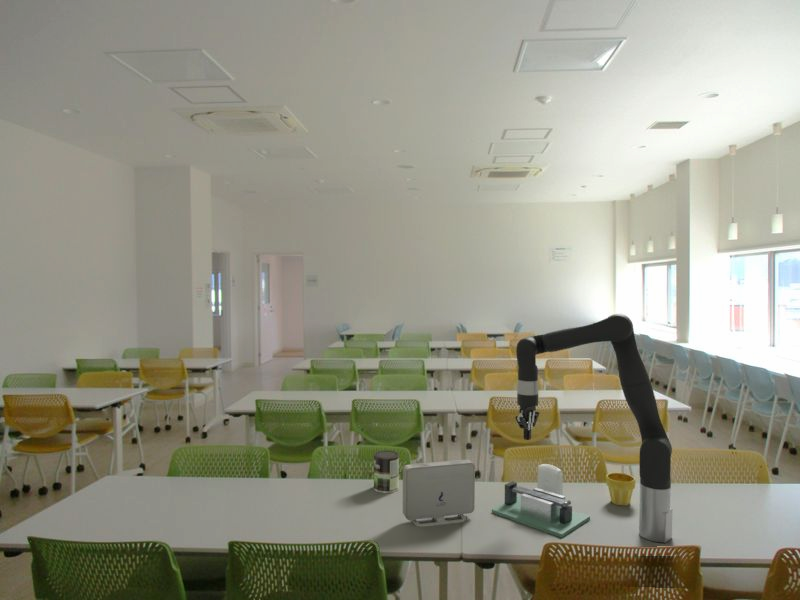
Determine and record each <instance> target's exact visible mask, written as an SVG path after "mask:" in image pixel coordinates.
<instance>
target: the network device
mask: <svg viewBox="0 0 800 600" xmlns="http://www.w3.org/2000/svg"><path fill="white" fill-rule="evenodd" d="M475 471H476V465H475V464H474V462H472V461H471V460H469V459H457V460H447V461H444V460H443V461H436V462H425V463H423V462H422V463H412V464H405V465H404V466H403V467H402V514H403V516H404V518H406V520H408V521H412V523H413V524H414V525H415V526H417V527H420V528H424V527H434V526H435V527H436V526H441V525H442V526H443V525H448V524H449V525H450V524H459V523H463V522H465V521H466V520H467V519H466V516H465V515H467V514H472V513H474V511H475V506H476V505H475V501H476V500H475V499H476V497H475V494H476V493H475V492H476V491H475V490H476V489H475V487H476V486H475V485H476V484H475V483H476V481H475V479H476V477H475V476H476V472H475ZM456 515H457V516H459V517H460V518H461V519H453V520H452V519H451V520H447V519H445V517H448V516H456ZM432 518H433V519H434V521H435V522H428V523H419V522H418V520H422V519H423V520H425V519H432Z"/></svg>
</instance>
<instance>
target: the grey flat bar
mask: <svg viewBox="0 0 800 600" xmlns="http://www.w3.org/2000/svg"><path fill="white" fill-rule="evenodd" d="M512 491H513V492H516V493H517V494H520V495H522V494H527V495H530V496H533V497H536V498H539V499H543V500H546V501H549V502H552V503H554V505H557V506H561V507H562V508H565V507H567V506H568V505H569V506H571V504H572V501H571V500H567V499H565V500H563V499H560V498H557V497H553V496H550V495H547V494H543V493H540V492H537V491H533V489H530V488H527V487H523V486H520V485H517V487H515V488H513V489H512Z"/></svg>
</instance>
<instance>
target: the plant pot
mask: <svg viewBox="0 0 800 600" xmlns="http://www.w3.org/2000/svg"><path fill="white" fill-rule="evenodd" d="M605 483H606V485H607V487H608V490H609V497H610V501H611V503H612V504H614V505H618V506H628V505H630V504H631V500H632V499H631V498H632V496H633V492H634V491H633V490H634V489H635V488H636V478H635V477H634V476H633V475H631V474H628V473H623V472H622V473H621V472H610V473H607V474H606V475H605Z"/></svg>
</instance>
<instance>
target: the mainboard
mask: <svg viewBox="0 0 800 600" xmlns="http://www.w3.org/2000/svg"><path fill="white" fill-rule="evenodd" d="M521 495H522V494H520V495H517V502H515V503H513V504H511V505H506V504H505V502H504V503H501V504H500V505H498V506H495V507H494V508H492V509H491V514H494V515H497V516H500V517H503V518H506V519H508V520H511V521H513V522H517V523H519V524H522V525H525V526H528V527H530V528H534V529H537V530H539V531H542V532H545V533H547V534H551V535H553V536H555V537H559V538H564V537H565V536H567V535H569V534H570V533H571V532H573V531H575V530H576V529H578V528H579V527H581V526H582V525H584V524H585V523H587V522H588V521H590V520H591V516H590V515H588V514H585V513H582V512H581V513H580V512H578V511H575V510H572V520H571V521H570V522H568V523H566V524H562V523H560V518H558V519H557V520H555V521H553V522H551V523H549V522H546V521H543V520H540V519H537V518H535V517H532V516H529V515H526V514H523V513H521Z"/></svg>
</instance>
